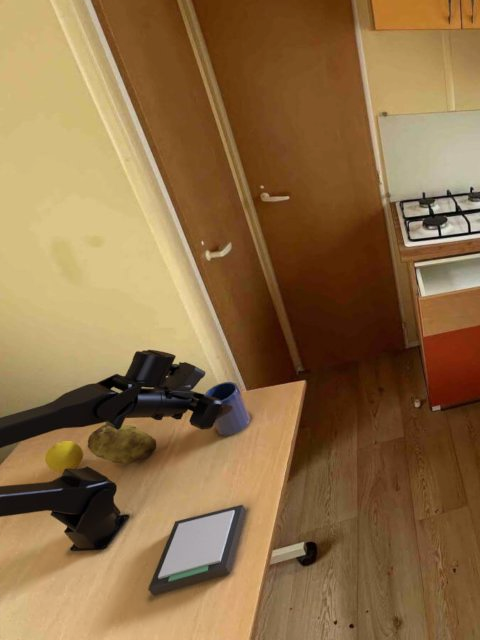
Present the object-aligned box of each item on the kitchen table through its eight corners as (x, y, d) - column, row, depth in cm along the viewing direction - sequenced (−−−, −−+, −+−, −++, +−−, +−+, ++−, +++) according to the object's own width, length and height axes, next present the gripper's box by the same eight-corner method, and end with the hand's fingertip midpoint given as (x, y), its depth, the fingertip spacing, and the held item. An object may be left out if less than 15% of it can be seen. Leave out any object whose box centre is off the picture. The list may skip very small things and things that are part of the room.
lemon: (86, 453, 99) (70, 429, 95) (91, 466, 96) (75, 443, 92) (54, 469, 95) (36, 445, 92) (58, 484, 92) (39, 460, 88)
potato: (125, 480, 93) (109, 456, 89) (91, 459, 98) (75, 436, 94) (165, 450, 100) (151, 426, 96) (132, 432, 104) (118, 409, 101)
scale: (230, 574, 77) (225, 565, 76) (153, 596, 74) (146, 587, 73) (246, 511, 87) (242, 502, 86) (179, 528, 84) (174, 519, 83)
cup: (241, 435, 104) (227, 403, 99) (212, 436, 103) (196, 404, 98) (255, 412, 110) (242, 381, 105) (227, 413, 110) (214, 382, 105)
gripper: (198, 376, 86) (260, 380, 100) (141, 353, 92) (207, 359, 107) (173, 432, 83) (240, 428, 98) (116, 404, 90) (187, 404, 104)
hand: (218, 402), depth 102 cm, fingers open, 9 cm apart
